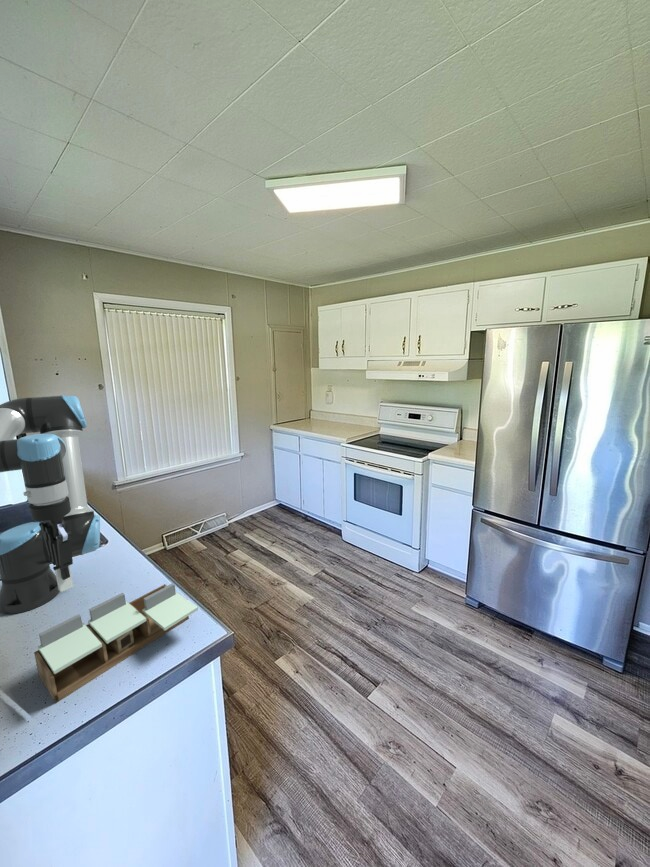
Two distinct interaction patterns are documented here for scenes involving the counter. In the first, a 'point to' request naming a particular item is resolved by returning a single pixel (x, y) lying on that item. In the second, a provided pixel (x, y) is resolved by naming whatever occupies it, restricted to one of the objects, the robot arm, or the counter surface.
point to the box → (99, 656)
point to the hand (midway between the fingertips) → (66, 588)
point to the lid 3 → (167, 607)
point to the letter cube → (122, 642)
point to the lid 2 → (114, 618)
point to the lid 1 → (67, 643)
